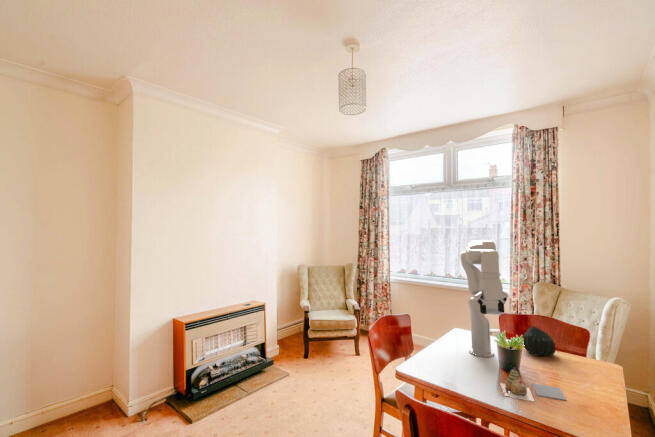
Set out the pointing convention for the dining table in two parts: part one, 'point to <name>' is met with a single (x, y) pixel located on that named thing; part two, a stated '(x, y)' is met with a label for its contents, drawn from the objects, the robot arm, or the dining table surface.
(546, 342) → the squash
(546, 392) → the grey mat
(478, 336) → the robot arm
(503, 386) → the tile
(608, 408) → the dining table surface
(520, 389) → the ornament
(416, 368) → the dining table surface
